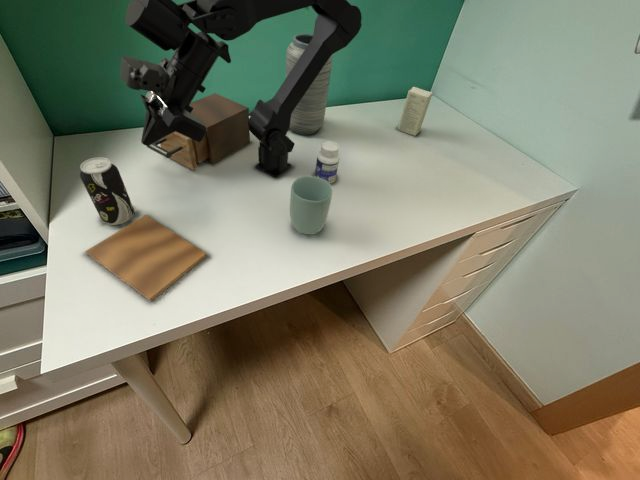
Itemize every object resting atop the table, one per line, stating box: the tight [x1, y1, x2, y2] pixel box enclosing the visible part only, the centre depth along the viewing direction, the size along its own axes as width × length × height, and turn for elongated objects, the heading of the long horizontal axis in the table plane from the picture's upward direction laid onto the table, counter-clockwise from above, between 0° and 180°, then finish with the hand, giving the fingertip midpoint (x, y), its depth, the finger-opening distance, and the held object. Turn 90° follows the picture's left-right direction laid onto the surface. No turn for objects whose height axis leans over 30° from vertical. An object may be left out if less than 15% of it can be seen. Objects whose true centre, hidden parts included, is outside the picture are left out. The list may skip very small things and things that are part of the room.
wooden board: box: [85, 214, 208, 302], centre depth 58 cm, size 16×12×1 cm
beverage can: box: [79, 156, 135, 226], centre depth 59 cm, size 6×6×12 cm
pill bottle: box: [314, 140, 340, 184], centre depth 77 cm, size 5×5×9 cm
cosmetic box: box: [397, 86, 433, 137], centre depth 98 cm, size 6×4×12 cm
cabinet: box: [185, 92, 251, 165], centre depth 81 cm, size 14×11×10 cm
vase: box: [285, 33, 334, 135], centre depth 88 cm, size 12×12×23 cm
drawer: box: [146, 131, 209, 171], centre depth 76 cm, size 17×10×8 cm, turn 148°
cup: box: [289, 175, 333, 235], centre depth 64 cm, size 8×8×10 cm
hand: (144, 144), depth 59 cm, fingers closed
